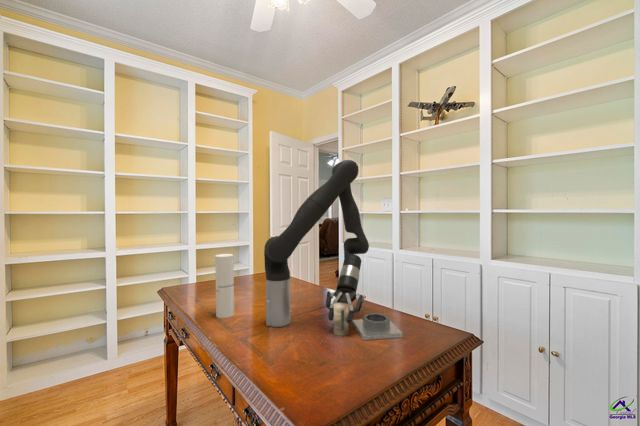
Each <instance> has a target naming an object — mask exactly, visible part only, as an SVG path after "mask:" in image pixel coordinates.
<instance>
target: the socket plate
mask: <svg viewBox="0 0 640 426" xmlns="http://www.w3.org/2000/svg"><path fill="white" fill-rule="evenodd" d="M351 323H352V325H353V327H354V328H355V331H357V333H358V335H359V336H360V337H361V340H362V341H372V340H373V341H374V340H383V339H385V340H386V339H396V338H397V339H398V338H403V337H404V335H403V332H402V330H400V329H399V328H398V327H397V326H396V324H395V323H394V322H392V321H391V319H390V318H389V317H388V316H387V315H386V314H382V313H378V312H375V313H373V312H372V313H366V314H365V315H364V316H362V318H361V319H360V318H359V319H353V321H352V322H351Z"/></svg>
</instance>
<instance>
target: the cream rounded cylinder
mask: <svg viewBox="0 0 640 426" xmlns="http://www.w3.org/2000/svg"><path fill="white" fill-rule="evenodd" d="M348 314H349V305H348V304H347V303H335V304H334V316H333V334H334V335H335V336H337V337H338V336H339V337H345V336H347V335H349V323H348V322H347V319H348Z"/></svg>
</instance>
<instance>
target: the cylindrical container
mask: <svg viewBox="0 0 640 426" xmlns="http://www.w3.org/2000/svg"><path fill="white" fill-rule="evenodd" d="M214 262H215V264H214V265H215V271H214V272H215V316H216V318H218V319H226V318H227V319H228V318H230V317H232V316H234V315H235V290H234V289H235V287H234V286H235V285H234V282H235V281H234V276H235V275H234V254H232V253H220V254H215V256H214Z"/></svg>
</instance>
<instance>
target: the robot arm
mask: <svg viewBox="0 0 640 426" xmlns="http://www.w3.org/2000/svg"><path fill="white" fill-rule="evenodd" d="M331 169H332V170H331V176H330V178H329V179H328V180H327V181H326V182H325V183H323V184H322V185H321V186H319V187H318V188H317V189H316V190H315V191H313V192H312V193H311V194H310V195H309V196H308V197H307V199H306V200H304V202H303V203H302V204H301V205H300V207H299V208H297V210H296V213H295V214H294V216H293V218H292V220H291V222H290V224H289V225H288V226H287V227H286V229H285V230H284V231H283V232H282V233H280V235H278V236H272V237H270V238H269V239H267V241H266V242H265V244H264V249H263V251H264V272H265V295H266V297H265V298H266V299H265V322H266V323H265V325H266V327H272V328H279V327H280V328H281V327H285V326H287V325H289V324H290V323H291V271H290V268H289V262H288V259H289V258H290V257H291V256H292V255H293V252H294V251H295V250H296V248H297V247H298V246H299V244H300V243H301V241H302V240H303V239H304V238H305V236H306V235H307V234H308V233H309V232H310V231H311V230H312V228H313V227H314V226H315V225H316V224H317V223H318V222H319V220H321V219H322V218H323V216H324V215H325V214H326V213H327V212H328V210H329V209H330V208H331V206H332V205H333V203H334V202H335V201H336V199H338V198H339V202H340V208H341V212H342V218H343V225H344V230H345V232H346V233H349V234H354V236H355V237H349V238H348V237H347V238H346V239H345V241H344V242H343V263H342V267H341V271H340V272H339V277H338V280H337V284H336V285H337V286H336V289H335V291H334V292H330V291H329V290H328V291H327V292H326V297H325V298H326V299H325V306H326V309H327V310H329V312H328V314H327V315H328V316H327V318H328V320H329V321H330V322H334V304H335V303H347V304H348V309H349V310H348V319H347V322H348V325H349V324H351V323H352V321H353V320H354V319H353V318H354V315H355V314H360V312H361V310H362V307H363V306H362V305H363V304H364V296H363V294H360V295H358V294H357V291H358V286H359V281H360V273H361V272H360V271H361V265H362V259H361V257H360V256H359V255H363V254H365V255H366V253H367V252H368V251H369V249H370V243H369V240H368V238H367V237H366V234H365V232H364V230H363V226H362V221H361V216H360V211H359V208H358V205H357V203H356V202H355V199H354V196H353V193H352V189H351V188H352V187H351V184H352V183H353V182H354V181H355V180H356V179H357V177H358V176H359V165H358V163H356V161H354V160H352V159H345V160H342V161H339V162H338V163H336V164H335V165H334V166H333V167H332V168H331ZM334 297H335V298H334ZM333 298H334V299H333ZM332 299H333V301H332ZM355 300H356V301H357V302H356V304H355V307H354V306H353V302H354V301H355Z"/></svg>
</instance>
